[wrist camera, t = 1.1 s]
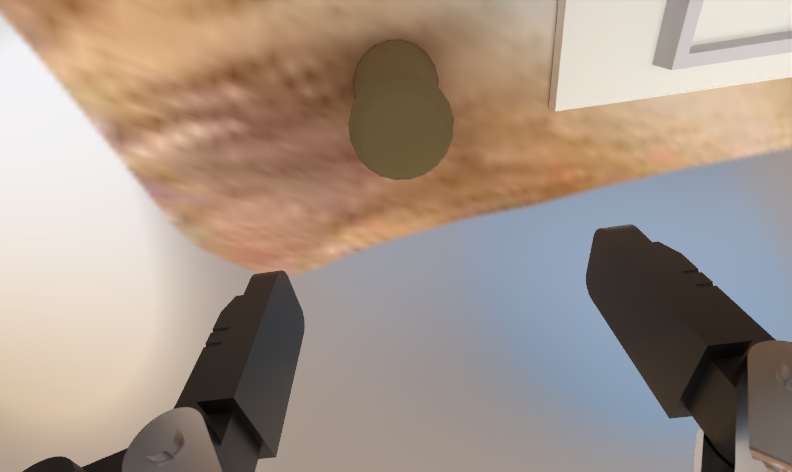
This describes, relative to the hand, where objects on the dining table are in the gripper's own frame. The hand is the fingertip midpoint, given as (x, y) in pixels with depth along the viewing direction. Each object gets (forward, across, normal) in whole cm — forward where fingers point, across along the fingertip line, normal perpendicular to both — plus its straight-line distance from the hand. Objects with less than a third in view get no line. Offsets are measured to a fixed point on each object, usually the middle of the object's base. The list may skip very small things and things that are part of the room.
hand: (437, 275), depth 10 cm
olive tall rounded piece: (+20, 0, 0) cm, 20 cm away
